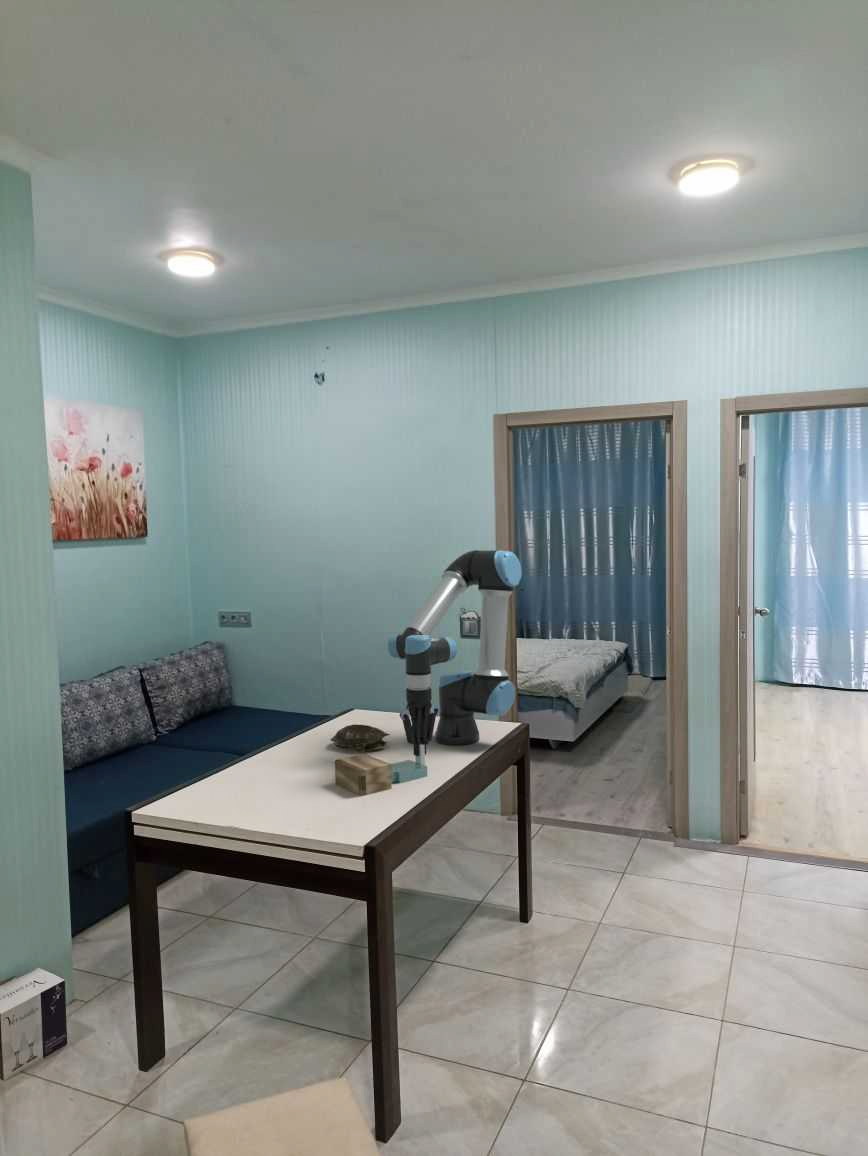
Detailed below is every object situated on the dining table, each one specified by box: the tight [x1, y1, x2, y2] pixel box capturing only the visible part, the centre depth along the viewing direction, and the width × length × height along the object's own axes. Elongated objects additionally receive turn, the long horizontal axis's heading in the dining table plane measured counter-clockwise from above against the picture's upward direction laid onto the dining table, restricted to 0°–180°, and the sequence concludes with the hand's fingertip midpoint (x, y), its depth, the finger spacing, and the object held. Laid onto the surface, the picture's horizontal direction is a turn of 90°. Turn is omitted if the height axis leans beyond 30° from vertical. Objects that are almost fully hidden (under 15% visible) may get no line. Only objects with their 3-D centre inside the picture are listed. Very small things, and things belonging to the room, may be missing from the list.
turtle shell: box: [330, 723, 391, 753], centre depth 287 cm, size 16×9×20 cm
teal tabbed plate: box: [390, 759, 428, 784], centre depth 252 cm, size 14×9×3 cm, turn 127°
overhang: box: [334, 753, 393, 797], centre depth 245 cm, size 10×14×7 cm
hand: (420, 765), depth 257 cm, fingers closed
